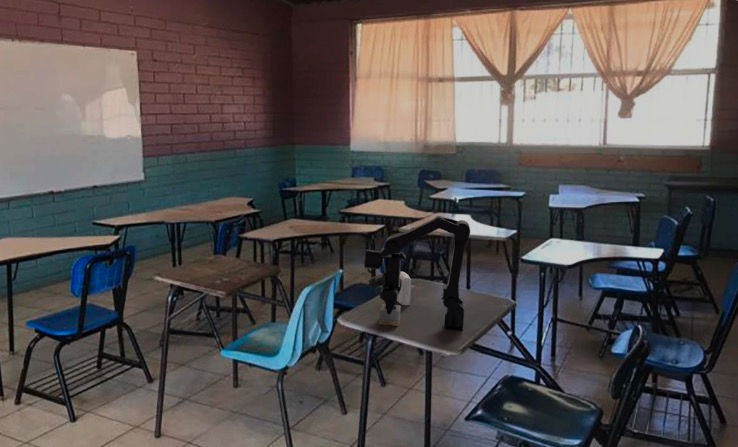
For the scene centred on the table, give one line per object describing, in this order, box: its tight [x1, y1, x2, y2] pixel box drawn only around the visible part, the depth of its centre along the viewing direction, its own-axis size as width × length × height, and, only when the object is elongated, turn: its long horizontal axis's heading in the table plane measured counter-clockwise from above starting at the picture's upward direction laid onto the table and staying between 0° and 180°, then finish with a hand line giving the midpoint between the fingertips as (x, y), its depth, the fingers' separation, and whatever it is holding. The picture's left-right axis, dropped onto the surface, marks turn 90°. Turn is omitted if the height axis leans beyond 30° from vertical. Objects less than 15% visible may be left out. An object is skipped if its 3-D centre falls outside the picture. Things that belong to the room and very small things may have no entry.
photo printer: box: [396, 271, 412, 306], centre depth 256 cm, size 10×4×12 cm, turn 17°
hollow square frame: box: [379, 303, 402, 323], centre depth 233 cm, size 7×7×4 cm
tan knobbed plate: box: [379, 317, 401, 327], centre depth 233 cm, size 7×7×6 cm
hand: (390, 310), depth 233 cm, fingers open, 9 cm apart
